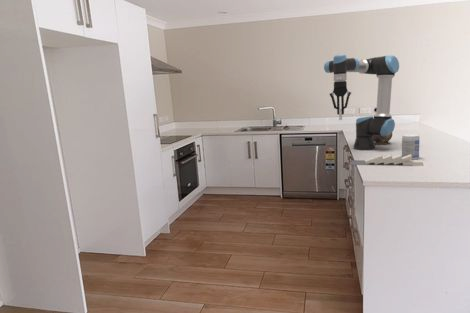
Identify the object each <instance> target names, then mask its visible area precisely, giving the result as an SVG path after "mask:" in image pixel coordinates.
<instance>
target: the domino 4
mask: <svg viewBox="0 0 470 313" xmlns="http://www.w3.org/2000/svg"><path fill="white" fill-rule="evenodd" d="M411 159H413V158H412V156H411V154H410V155H407V156H404V157H402V159H401V160H398V161H395V162H393V163H394V165H396V164H399V163H402V162H405V161H408V160H411Z"/></svg>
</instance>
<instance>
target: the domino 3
mask: <svg viewBox="0 0 470 313" xmlns="http://www.w3.org/2000/svg"><path fill="white" fill-rule="evenodd" d="M392 157H393V159H391V160H388V161H385V162H384V164H385V165H386V164H389V163H392V162H395V161H398V160H401V159H402V154H398V155H395V156H392Z"/></svg>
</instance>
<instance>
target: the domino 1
mask: <svg viewBox="0 0 470 313" xmlns="http://www.w3.org/2000/svg"><path fill="white" fill-rule="evenodd" d="M383 157H384V155H383V154H379V155H375V156H373V157H371V158H367V159H365V163H366V164H369V163H372V162H375V161H378V160H381V159H383Z"/></svg>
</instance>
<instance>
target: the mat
mask: <svg viewBox="0 0 470 313" xmlns="http://www.w3.org/2000/svg"><path fill="white" fill-rule="evenodd" d="M365 160H366V159H365ZM365 160H364V159H363V160H360V159H357V160H353V159H351V160H350V162H349V166H386V167H389V166H390V167H391V166H392V167H394V166H395V167H413V166H414V165H403V162H402V163H399V164H396V165H394V163H393V162H392V163H389V164H386V165H385V164H384V162H382V163H379V164H376V165H375V163H374V162H372V163H369V164H366V163H365Z"/></svg>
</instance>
